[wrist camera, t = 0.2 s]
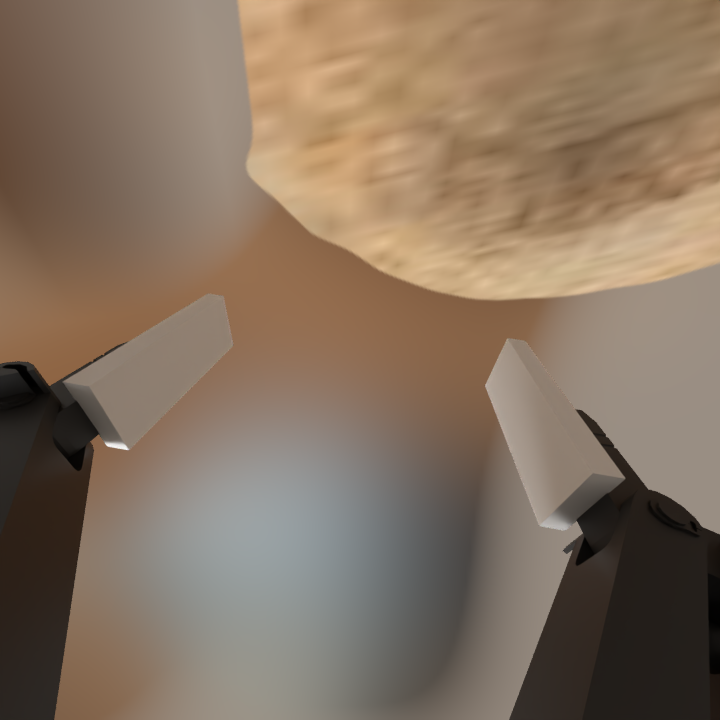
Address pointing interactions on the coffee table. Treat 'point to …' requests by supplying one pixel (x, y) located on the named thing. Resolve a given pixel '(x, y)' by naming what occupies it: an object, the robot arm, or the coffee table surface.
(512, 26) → the coffee table surface
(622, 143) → the coffee table surface
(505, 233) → the coffee table surface
